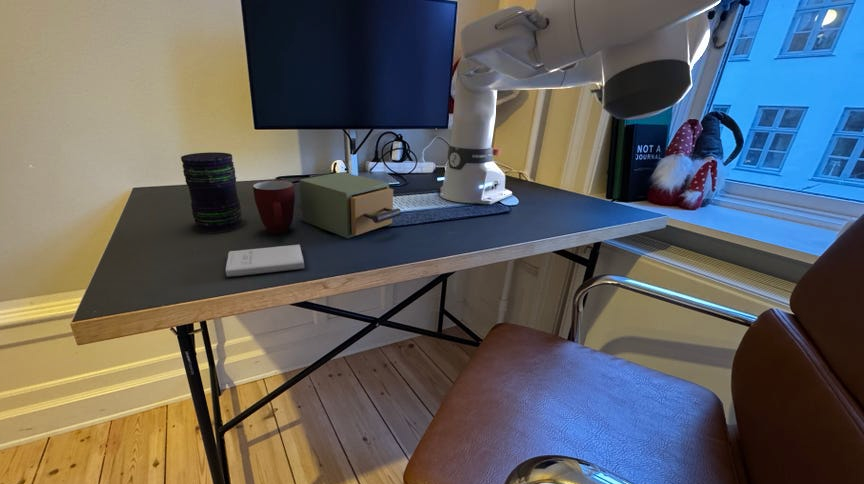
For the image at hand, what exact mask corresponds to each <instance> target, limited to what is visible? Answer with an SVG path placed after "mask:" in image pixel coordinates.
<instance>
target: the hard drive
mask: <svg viewBox="0 0 864 484" xmlns="http://www.w3.org/2000/svg"><path fill="white" fill-rule="evenodd" d="M295 270H305V262H304V256H303V253H302V249H301V244H291V245H281V246H279V245H278V246H271V247H260V248H249V249H240V250H239V249H238V250H230V251H228V254H227V258H226V265H225V276H226V277H227V278H229V277H231V278H232V277H241V276H250V275H251V276H252V275H259V274H267V273H268V274H269V273H277V272H286V271H295Z"/></svg>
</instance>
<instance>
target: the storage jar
mask: <svg viewBox="0 0 864 484" xmlns="http://www.w3.org/2000/svg"><path fill="white" fill-rule="evenodd" d="M180 161H181V162H182V169H183V170H182V171H183V177H184V179H185V181H184V182H185V183H186V186H187V187H188V191H189V196H190V200H191V202H190V207H191V213H192V217H193V219H194V222H195V229H196V230H197V231H198V232H201V233H208V234H218V233H225V232H226V233H227V232H230V231H234V230H237V229H239V228H241V227H242V226H243V225H244V223H243V219H242V217H243V216H242V207H241V202H240V199H239V197H238V192H237V185H236V183H237V176H236V168H235V167H234V166H235V165H234V161H233V154H232V153H229V152H227V153H226V152H217V151H215V152H214V151H213V152H196V153H188V154H185V155H181V156H180Z"/></svg>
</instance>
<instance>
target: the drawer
mask: <svg viewBox="0 0 864 484" xmlns="http://www.w3.org/2000/svg"><path fill="white" fill-rule="evenodd" d="M393 206H394V188H391V187H389V188H388V189H384V190H383V188H380V189H376V190H372V191H368V192H364V193H360V194H355V195H351V196H349V212H350V230H352V235H355V236H354V237H356V236H359V235H363V234H366V233H368V232H371V231H374V230H377V229H380V228H383V227H385V226H388V225H391V224H393V219H394V218H397V217H399V216H401V215H402V210H401V209H400V208H393Z"/></svg>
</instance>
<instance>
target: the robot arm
mask: <svg viewBox="0 0 864 484" xmlns="http://www.w3.org/2000/svg"><path fill="white" fill-rule="evenodd" d="M721 1H722V0H536V1H535V4H534V8H530V9H529V10H526V8H525V7H522V6H521V5H510V6H507V7H504V8H501V9H499V10H496V11H494V12H491V13H489V14H486V15H485V16H482V17H480V18H478V19H477V18H476V19H475V20H472V21H471V22H469V23H467V24H465V25H464V26H463V28H462V29H461V30H460V43H461V50H462V53H461V55H460V57H459V59H458V62H457V68H456V78H455V89H454V90H455V91H454V100H453V101H454V103H453V115H452V125H451V136H450V143H449V145H448V149H447V160H448V162H447V164H446V166H445V171H444V176H443V177H437V181H443V182H442V186H440V189H439V191H440V192H439V196H440V198H442V199H444V200H447V201H450V202H455V203H463V204H481V205H492V204H494V203H497V202H499V201H501V200H502V201H503V200H504V199H506V198H509V197H511V196H512V195H513V192H512V191H511V190H509V189H507V188H506V173H504V171H502V170H501V168H500V167H499V166H498V165H497V164H496V163H495V162H494V156H496V157H499V155H500V154H501V151H502V150H501V149H500V148H496V147H492V144H493V143H492V142H493V138H494V137H493V136H494V130H495V129H494V128H495V123H496V111H497V110H496V109H497V97H498V91H514V90H515V91H519V90H521V91H522V90H552V89H554V90H556V89H568V88H577V87H583V86H588V85H596V86H597V87H598V88H597V89H595V88H594V89H590V90H589V92H590V94H594V96H595V98H596V102H597V103H599V104H600V105H601V106H602V109H603V110H604V111H606V113H608V114H609V115H610V116H612V117H614V118H615V119H618V120H626V121H627V120H629V121H631V120H633V121H634V120H640V119H645V118H650V117H653V116H655V115H659V114H661V113H663V112H665V111H667V110H668V109H670V108H672V107H673V106H676V105H677V104H678V103H679V102H681V101H682V99H684V98H685V96H686V95H687V94H688V92H689V91H690V89H691V88H692V87H693V78H692V69H693V66H694V64H695V63H696V62H697V61H698V60H699V59H700V57H701V56H702V55H703V53H704V52H705V50H706V48H707V46H708V44H709V41H710V35H711V26H710V22H709V19H708V17H707V15H706V13H705V11H707V10H709V9H711V8H713V7H715V6H717V5H718V4H719V3H721ZM441 193H442V194H443V195H442V194H441ZM502 194H503V195H502ZM504 194H505V195H504Z"/></svg>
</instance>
